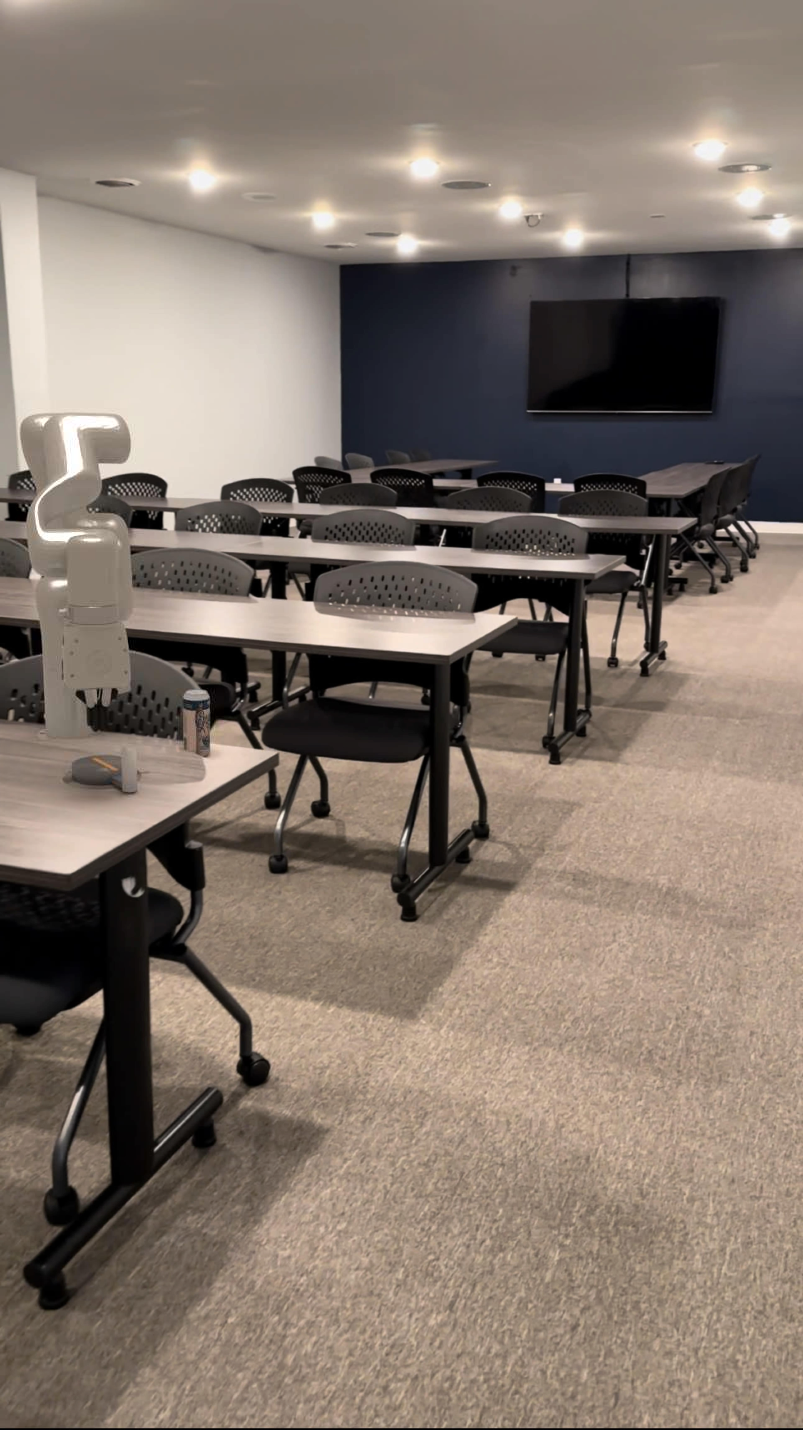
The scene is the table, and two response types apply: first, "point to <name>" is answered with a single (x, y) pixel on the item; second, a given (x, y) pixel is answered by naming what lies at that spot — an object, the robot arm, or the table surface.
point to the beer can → (196, 721)
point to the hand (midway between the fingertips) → (97, 729)
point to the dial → (108, 769)
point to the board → (70, 781)
